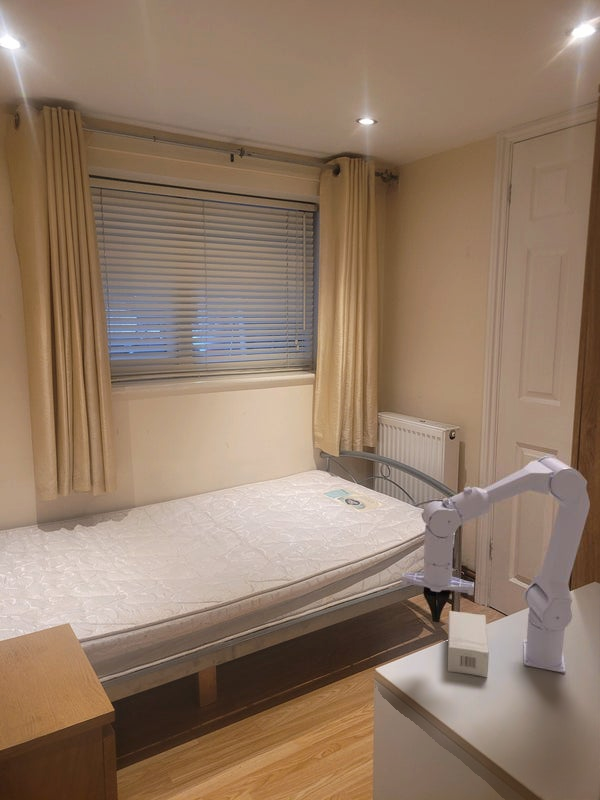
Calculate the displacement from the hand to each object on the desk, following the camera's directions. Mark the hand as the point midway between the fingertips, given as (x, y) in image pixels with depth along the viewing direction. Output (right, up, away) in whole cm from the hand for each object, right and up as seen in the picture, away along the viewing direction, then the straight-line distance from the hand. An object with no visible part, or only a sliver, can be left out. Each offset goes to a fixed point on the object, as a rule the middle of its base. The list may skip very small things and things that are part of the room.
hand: (436, 619), depth 123 cm
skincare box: (+6, -8, -3) cm, 10 cm away
